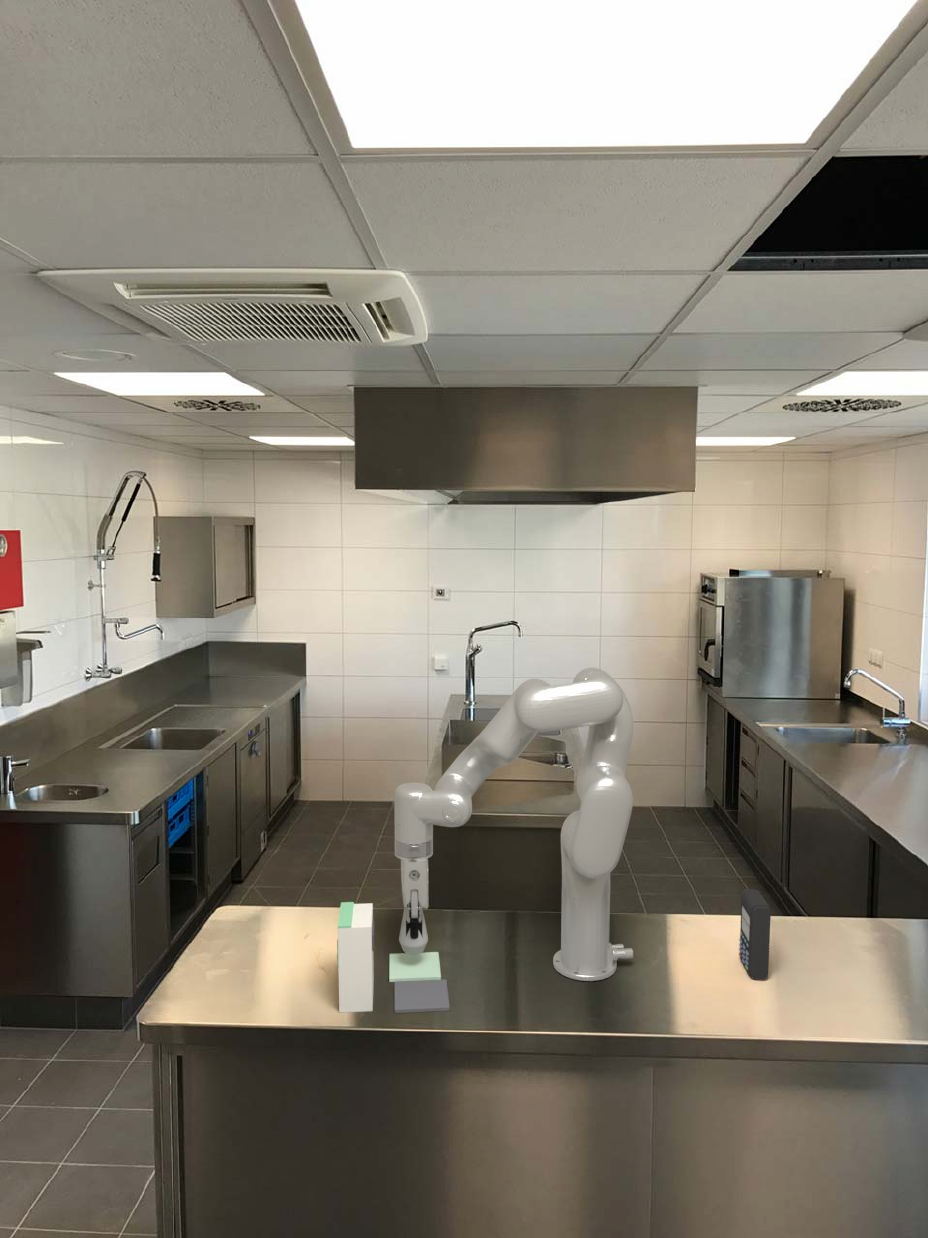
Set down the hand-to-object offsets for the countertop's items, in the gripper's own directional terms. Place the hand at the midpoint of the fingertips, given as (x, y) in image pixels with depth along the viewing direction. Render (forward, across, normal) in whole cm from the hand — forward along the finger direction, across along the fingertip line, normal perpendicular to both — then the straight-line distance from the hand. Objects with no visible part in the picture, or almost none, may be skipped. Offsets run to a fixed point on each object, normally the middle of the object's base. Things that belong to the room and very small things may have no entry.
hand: (414, 935), depth 175 cm
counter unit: (+7, -10, +11) cm, 16 cm away
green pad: (+7, 0, 0) cm, 7 cm away
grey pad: (+7, -11, -1) cm, 13 cm away
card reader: (+7, -6, -67) cm, 68 cm away
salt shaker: (+3, 0, 0) cm, 3 cm away
